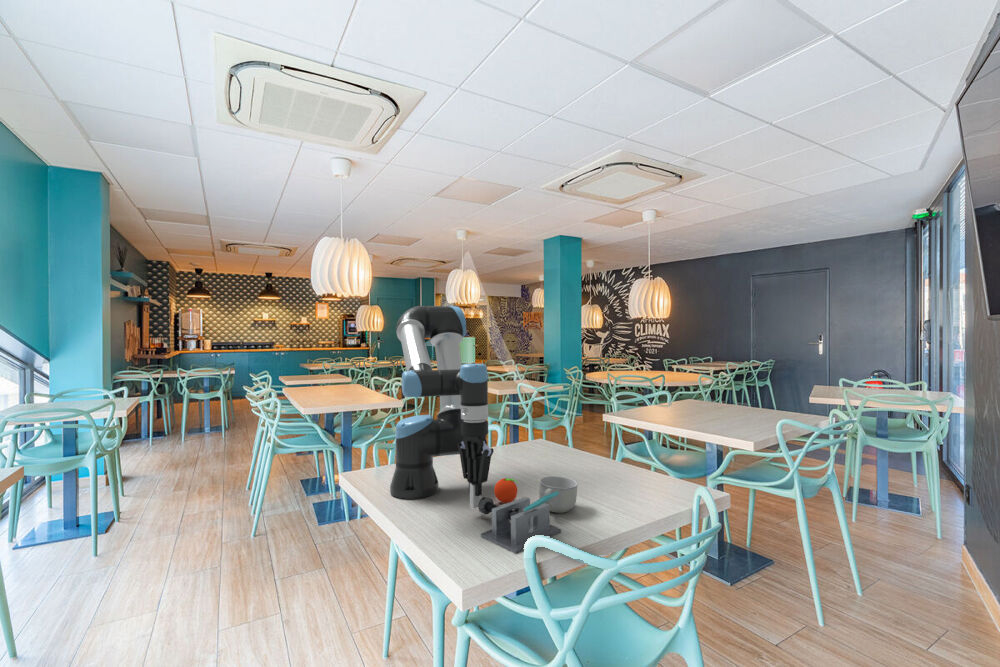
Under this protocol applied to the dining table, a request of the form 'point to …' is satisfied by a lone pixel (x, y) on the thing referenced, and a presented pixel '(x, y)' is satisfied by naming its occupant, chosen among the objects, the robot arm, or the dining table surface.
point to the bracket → (519, 524)
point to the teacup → (565, 489)
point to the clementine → (505, 490)
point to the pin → (490, 506)
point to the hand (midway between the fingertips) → (475, 506)
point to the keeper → (540, 501)
